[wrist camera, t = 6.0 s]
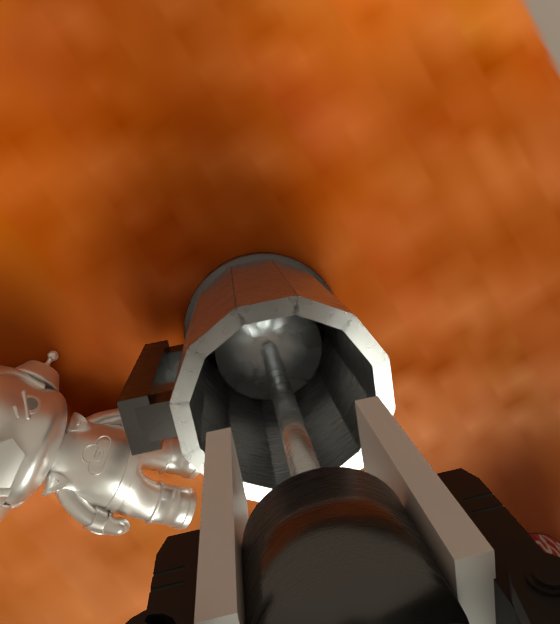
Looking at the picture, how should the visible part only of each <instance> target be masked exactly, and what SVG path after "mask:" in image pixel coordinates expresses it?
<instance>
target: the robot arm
mask: <svg viewBox="0 0 560 624" xmlns="http://www.w3.org/2000/svg"><path fill="white" fill-rule="evenodd" d="M355 408H356V415H357V422H358V430H359V437H360V444H361V451H362V459H363V466H364V472H367V473H369V474H371V475H373V476H375V477H377V478H379V479H380V480H382V481H383V482H385V483H386V484H387V485H388V486H389V487H390V488H391V489H392V490H393V491H394V492H395V494H396V495H397V496H398V498H399V499H400V501H401V503H402V504H403V506H404V508H405V510H406V511H407V513H408V515H409V517H410V518H411V520H412V522H413V524H414V525H415V527H416V529H417V530H418V532H419V534H420V536H421V537H422V539H423V541H424V543H425V544H426V546H427V548H428V550H429V551H430V553H431V555H432V556H433V558H434V560H435V562H436V563H437V565H438V567H439V569H440V570H441V572H442V574H443V576H444V577H445V579H446V581H447V582H448V584H449V586H450V588H451V589H452V591H453V593H454V595H455V596H456V598H457V600H458V602H459V603H460V605H461V607H462V609H463V610H464V612H465V614H466V616H467V618H468V621H469V624H560V557H558V556H555V555H552V554H549V553H545V552H544V551H543V550H542V548H541V547H540V546H539V545H538V544H537V543H536V542H535V541H534V539H533V538H532V537H531V536H530V535H529V534H528V533H527V532H526V531H525V529H524V528H523V527H522V526H521V525H520V524H519V523H518V522H517V520H516V519H515V518H514V517H513V516H512V515H511V514H510V513H509V511H508V510H507V509H506V508H505V507H503V506H502V504H501V502H500V501H499V500H498V499H497V498H496V497H495V496H494V495H492V492H491V491H490V490H489V489H488V488H487V487H486V486H485V484H484V483H483V482H482V481H481V480H480V479H479V478H477V477H476V476H474V475H472V474H470V473H468V472H467V471H465V470H463V469H461V468H460V469H456V470H451V471H447V472H442V473H438V474H436V472H435V471H434V470H433V468H432V467H431V466H430V465H429V463H428V462H427V461H426V459H425V458H424V457H423V455H422V454H421V453H420V451H419V450H418V449H417V447H416V446H415V445H414V443H413V442H412V441H411V439H410V438H409V437H408V435H407V434H406V433H405V431H404V430H403V429H402V427H401V426H400V425H399V423H398V422H397V421H396V419H395V418H394V417H393V416H392V414H391V413H390V412H389V410H388V409H387V408H386V406H385V405H384V404H383V402H382V401H381V400H380V398H379V397H378V396H374V397H369V398H365V399H360V400H355ZM247 521H248V508H247V499H246V494H245V490H244V485H243V481H242V476H241V472H240V467H239V463H238V458H237V454H236V449H235V445H234V441H233V436H232V432H231V427H229V428H224V429H220V430H215V431H210V432H206V446H205V461H204V476H203V492H202V507H201V522H200V529H199V530H195V531H191V532H186V533H182V534H178V535H173V536H169V537H167V539H166V541H165V542H164V544H163V545H162V547H161V548H160V550H159V552H158V553H157V555H156V561H155V567H154V572H153V574H154V577H153V578H152V583H151V592H150V594H149V600H148V605H147V610H145V611H143V612H141V613H140V614H138V615H136V616H134V617H133V618H131V619H130V620H129V621H128V622H127V623H126V624H246V613H245V595H244V577H243V560H242V539H243V533H244V529H245V526H246V523H247Z"/></svg>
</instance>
